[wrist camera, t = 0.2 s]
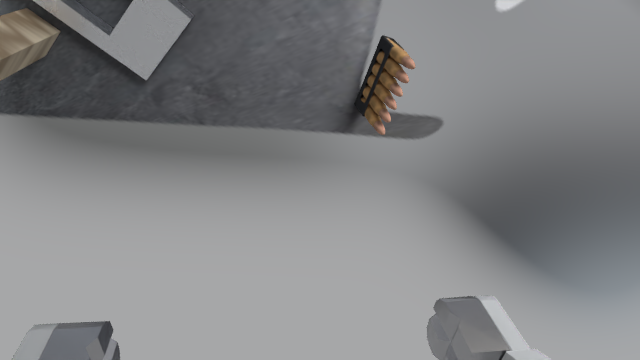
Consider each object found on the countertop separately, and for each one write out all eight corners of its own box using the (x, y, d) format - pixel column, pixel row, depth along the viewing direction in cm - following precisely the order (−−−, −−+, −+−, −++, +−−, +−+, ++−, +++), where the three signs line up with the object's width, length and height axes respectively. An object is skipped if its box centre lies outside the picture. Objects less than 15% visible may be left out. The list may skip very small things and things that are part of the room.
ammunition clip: (382, 34, 53) (410, 57, 43) (393, 38, 54) (424, 62, 44) (354, 104, 58) (374, 139, 48) (365, 107, 59) (387, 142, 49)
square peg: (12, 33, 47) (-69, 65, 35) (26, 7, 46) (-53, 31, 34) (46, 55, 49) (-21, 92, 37) (60, 31, 48) (-4, 61, 36)
